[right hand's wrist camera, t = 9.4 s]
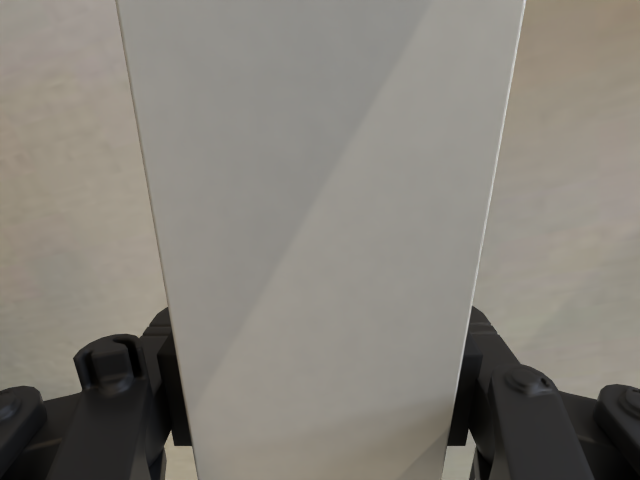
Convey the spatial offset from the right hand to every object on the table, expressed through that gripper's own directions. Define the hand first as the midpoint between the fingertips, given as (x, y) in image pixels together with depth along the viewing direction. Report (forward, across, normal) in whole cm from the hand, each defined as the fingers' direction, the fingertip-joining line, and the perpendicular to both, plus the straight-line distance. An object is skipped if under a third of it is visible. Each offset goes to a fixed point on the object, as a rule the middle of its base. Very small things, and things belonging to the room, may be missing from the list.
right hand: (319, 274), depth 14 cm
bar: (+1, 0, -9) cm, 9 cm away
